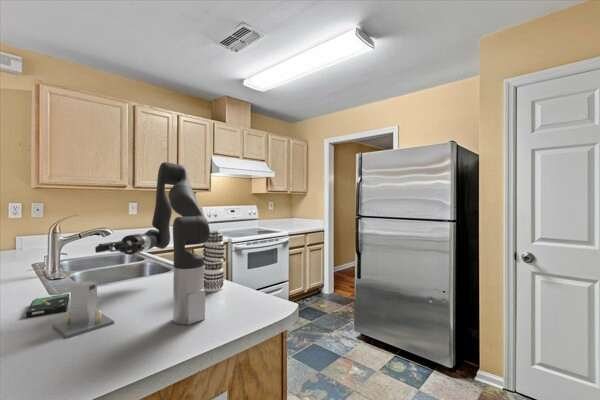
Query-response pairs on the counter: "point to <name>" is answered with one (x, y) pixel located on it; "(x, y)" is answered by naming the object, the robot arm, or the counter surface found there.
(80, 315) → the grey upright block
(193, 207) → the robot arm
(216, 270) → the decorative candle
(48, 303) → the disk drive
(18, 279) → the counter surface
